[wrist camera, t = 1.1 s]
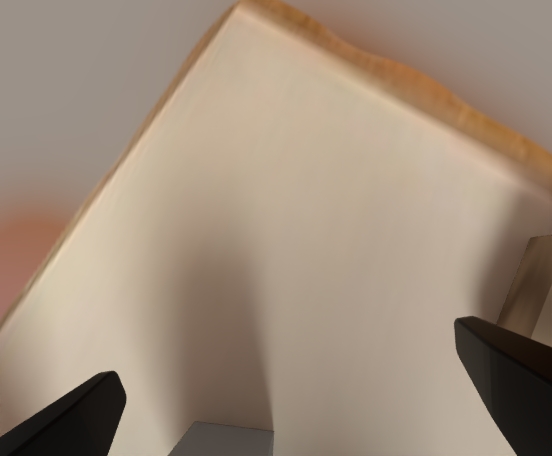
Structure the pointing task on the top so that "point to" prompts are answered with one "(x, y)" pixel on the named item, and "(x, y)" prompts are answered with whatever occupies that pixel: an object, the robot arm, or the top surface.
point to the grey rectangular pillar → (224, 441)
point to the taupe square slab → (531, 294)
